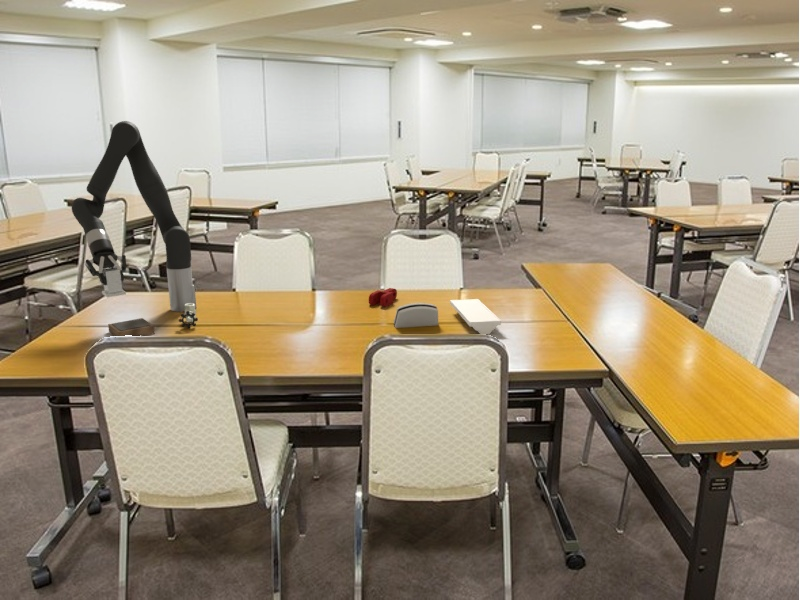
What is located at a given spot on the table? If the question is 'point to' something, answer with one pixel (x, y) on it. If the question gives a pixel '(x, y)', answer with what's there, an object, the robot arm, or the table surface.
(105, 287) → the block
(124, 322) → the stand
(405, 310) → the grey napkin holder
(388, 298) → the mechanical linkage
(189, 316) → the valve
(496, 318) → the shelf
